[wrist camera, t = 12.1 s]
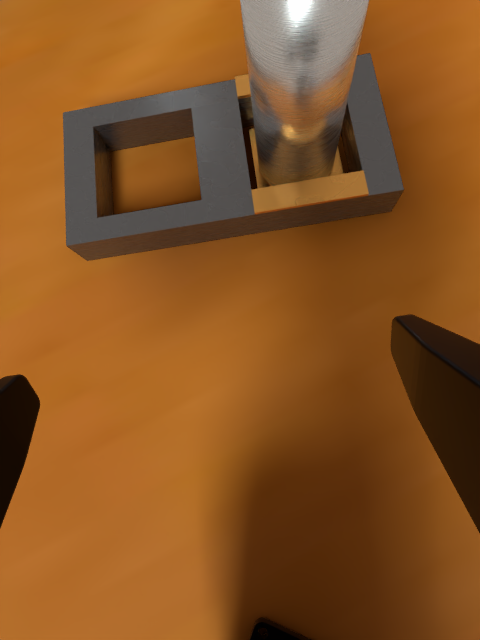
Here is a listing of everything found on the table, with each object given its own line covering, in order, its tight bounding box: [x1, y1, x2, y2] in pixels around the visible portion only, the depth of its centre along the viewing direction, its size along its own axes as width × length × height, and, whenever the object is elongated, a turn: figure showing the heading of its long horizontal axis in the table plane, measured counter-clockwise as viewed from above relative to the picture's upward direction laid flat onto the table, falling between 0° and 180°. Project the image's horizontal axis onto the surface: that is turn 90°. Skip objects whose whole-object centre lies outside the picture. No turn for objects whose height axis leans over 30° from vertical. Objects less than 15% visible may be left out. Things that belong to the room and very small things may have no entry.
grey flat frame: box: [63, 53, 404, 261], centre depth 24 cm, size 20×10×3 cm, turn 97°
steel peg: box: [240, 0, 369, 186], centre depth 19 cm, size 5×5×12 cm
